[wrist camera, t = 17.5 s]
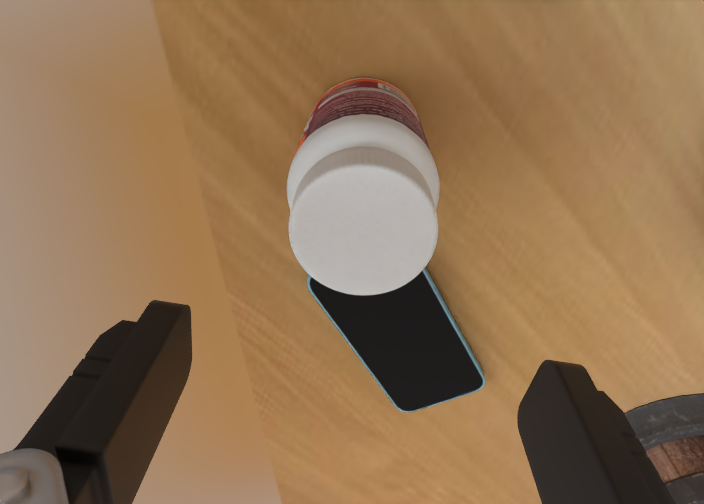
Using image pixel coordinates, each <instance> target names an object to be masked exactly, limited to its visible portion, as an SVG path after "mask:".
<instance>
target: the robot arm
mask: <svg viewBox="0 0 704 504" xmlns="http://www.w3.org/2000/svg"><path fill="white" fill-rule="evenodd" d="M191 339H192V337H191V311H190V307H189V306H188V305H183V304H177V303H170V302H164V301H157V300H153V301H151V302H150V303H149V305H148V306H147V308H146V309H145V311H144V312H143V314H142V315H141V317H140V318H139V320H138V321H137V322H132V321H125V320H122V321H120V322H119V323H117V324H116V325H115V326H113V327H112V328H110V329H109V330H107V331H106V332H104V333H103V334H101V335H100V336H99V338H98V339H97V340H96V342H95V343H94V344H93V346H92V347H91V348H90V350H89V351H88V352H87V354H86V356H85V359H82V360H81V362H80V363H79V364H78V366H77V367H76V368H75V370H74V371H73V375H72V376H69V378H68V379H67V380H66V382H65V383H64V384H63V386H62V387H61V389H60V390H59V391H58V393H57V394H56V395H55V397H54V398H53V399H52V401H51V402H50V403H49V405H48V406H47V407H46V409H45V410H44V412H43V413H42V414H41V415H40V417H39V418H38V419H37V421H36V422H35V424H34V425H33V426H32V428H31V429H30V430H29V431H28V433H27V434H26V436H25V437H24V438H23V440H22V441H21V442H20V443H19V444H18V446H17V447H16V448H15V449H14V450H12V451H9V452H5V453H2V454H0V504H132V502H133V500H134V498H135V496H136V493H137V491H138V489H139V487H140V484H141V482H142V480H143V478H144V475H145V473H146V471H147V469H148V467H149V464H150V462H151V460H152V458H153V456H154V453H155V451H156V449H157V447H158V444H159V442H160V440H161V438H162V436H163V433H164V431H165V429H166V427H167V424H168V422H169V420H170V418H171V415H172V413H173V411H174V409H175V407H176V404H177V402H178V400H179V398H180V396H181V393H182V391H183V389H184V386H185V384H186V382H187V379H188V376H189V372H190V367H191V362H192V340H191ZM518 429H519V433H520V436H521V439H522V442H523V445H524V449H525V452H526V455H527V458H528V461H529V464H530V467H531V470H532V473H533V477H534V480H535V483H536V486H537V489H538V492H539V495H540V498H541V501H542V504H676V503H675V501H674V500H673V498H672V496H671V494H670V493H669V491H668V489H667V488H666V486H665V484H664V482H663V481H662V479H661V477H660V475H659V474H658V472H657V470H656V468H655V467H654V465H653V463H652V461H651V460H650V458H649V457H647V456H646V451H645V449H644V447H643V446H642V444H641V442H640V440H639V439H638V438H636V437H635V435H636V433H635V432H634V430H633V428H632V426H631V425H630V423H629V421H628V419H627V418H626V416H625V414H624V412H623V411H622V410H621V409H620V408H619V407H618V406H617V405H616V404H615V403H614V402H613V401H612V400H611V399H610V398H609V397H608V396H607V395H606V394H605V393H604V392H603V391H597V389H596V387H595V385H594V383H593V381H592V380H591V378H590V376H589V374H588V372H587V371H586V369H585V368H584V367H583V366H582V365H579V364H573V363H566V362H560V361H553V360H545V361H544V362H543V363H542V364H541V365H540V367H539V369H538V371H537V373H536V375H535V376H534V378H533V380H532V382H531V384H530V386H529V388H528V390H527V392H526V393H525V395H524V397H523V399H522V401H521V403H520V406H519V410H518Z"/></svg>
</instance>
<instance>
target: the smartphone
mask: <svg viewBox="0 0 704 504" xmlns="http://www.w3.org/2000/svg"><path fill="white" fill-rule="evenodd" d="M307 286H308V289H309V291H310V292H311V294H312V295H313V297H314V298H315V299H316V301H317V302H318V303H319V305H320V306H321V307H322V309H323V310H324V311H325V313H326V314H327V315H328V317H329V318H330V319H331V321H332V322H333V324H334V325H335V326H336V328H337V329H338V330H339V332H340V333H341V334H342V336H343V337H344V338H345V340H346V341H347V342H348V344H349V345H350V346H351V348H352V349H353V350H354V352H355V353H356V354H357V356H358V357H359V358H360V360H361V361H362V363H363V364H364V365H365V367H366V368H367V369H368V371H369V372H370V373H371V375H372V376H373V377H374V379H375V380H376V382H377V383H378V384H379V386H380V387H381V388H382V390H383V391H384V392H385V394H386V395H387V396H388V398H389V399H390V400H391V402H392V403H393V405H394V406H395V407H396V408H397V409H398V410H400V411H402V412H414V411H417V410H420V409H424V408H427V407H430V406H433V405H436V404H439V403H442V402H446V401H449V400H452V399H455V398H458V397H461V396H464V395H467V394H470V393H473V392H476V391H478V390H480V389H482V388H483V386H484V385H485V378H484V375H483V371H482V369H481V367H480V365H479V363H478V361H477V360H476V358H475V356H474V354H473V352H472V351H471V349H470V347H469V345H468V343H467V342H466V340H465V338H464V336H463V334H462V333H461V331H460V329H459V327H458V325H457V324H456V322H455V320H454V318H453V316H452V315H451V313H450V311H449V309H448V307H447V306H446V304H445V302H444V300H443V298H442V296H441V295H440V293H439V291H438V289H437V287H436V286H435V284H434V282H433V280H432V278H431V276H430V275H429V273H428V271H427V269H426V267H425V268H424V269H423V270H422V271H421V272H420V273H419V274H418V275H417V276H416V277H415V278H414V279H412V280H411V281H410V282H408V283H407V284H405V285H403V286H402V287H400V288H398V289H395V290H393V291H389V292H386V293H382V294H376V295H352V294H346V293H342V292H339V291H335V290H333V289H331V288H329V287H327V286H325V285H323V284H321V283H319V282H318V281H317V280H315V279H314V278H313V277H311V276H310V275H309V274H308V278H307Z"/></svg>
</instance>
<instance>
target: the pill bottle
mask: <svg viewBox="0 0 704 504" xmlns="http://www.w3.org/2000/svg"><path fill="white" fill-rule="evenodd" d="M439 191H440V185H439V177H438V172H437V168H436V165H435V163H434V159H433V156H432V154H431V152H430V149H429V146H428V144H427V140H426V138H425V135H424V132H423V129H422V126H421V122H420V120H419V117H418V114H417V112H416V110H415V108H414V106H413V104H412V103H411V101H410V100H409V99H408V98H407V96H406V95H405V94H404V93H403V92H402V91H400V90H399V89H398V88H396V87H395V86H393V85H391V84H389V83H387V82H385V81H382V80H378V79H373V78H354V79H350V80H346V81H344V82H341V83H339V84H337V85H335V86H333V87H332V88H331V89H329V90H328V91H327V92H326V93H325V94H324V95H323V96H322V97H321V98H320V99H319V100H318V102H317V103H316V105H315V107H314V108H313V110H312V112H311V115H310V117H309V119H308V122H307V124H306V126H305V128H304V131H303V134H302V136H301V139H300V142H299V144H298V147H297V150H296V152H295V155H294V158H293V161H292V164H291V167H290V170H289V174H288V180H287V198H288V204H289V207H290V211H291V214H290V218H289V239H290V244H291V247H292V250H293V252H294V254H295V257H296V258H297V260H298V262H299V263H300V265H301V266H302V267H303V269H304V270H305V271H306V272H307V273H308V274H309V275H310V276H311V277H313V278H314V279H315V280H317V281H318V282H319V283H321V284H323V285H325V286H327V287H329V288H331V289H333V290H335V291H339V292H342V293H346V294H352V295H376V294H382V293H386V292H389V291H393V290H395V289H398V288H400V287H402V286H403V285H405V284H407V283H408V282H410V281H411V280H412V279H414V278H415V277H416V276H417V275H418V274H419V273H420V272H421V271H422V270H423V269H424V268H425V267H426V265H427V264H428V262H429V261H430V259H431V257H432V255H433V253H434V250H435V248H436V244H437V239H438V218H437V214H436V209H437V205H438V200H439Z"/></svg>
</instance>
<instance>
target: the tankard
mask: <svg viewBox="0 0 704 504" xmlns="http://www.w3.org/2000/svg"><path fill="white" fill-rule="evenodd" d="M625 416H626V418H627V419H628V421H629V423H630V425H631V426H632V428H633V430H634V432H635V433H636V435H635V437H636V438H638V439H639V440H640V442H641V444H642V446H643V447H644V449H645V451H646V456H647V457H649V458H650V460H651V461H652V463H653V465H654V467H655V468H656V470H657V472H658V474H659V475H660V477H661V479H662V481H663V482H664V484H665V486H666V488H667V489H668V491H669V493H670V494H671V496H672V498H673V500H674V501H675V503H676V504H704V394H699V395H688V396H680V397H675V398H670V399H665V400H661V401H657V402H654V403H651V404H648V405H645V406H642V407H639V408H636V409H634V410H632V411H629V412H627V413H625Z"/></svg>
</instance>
